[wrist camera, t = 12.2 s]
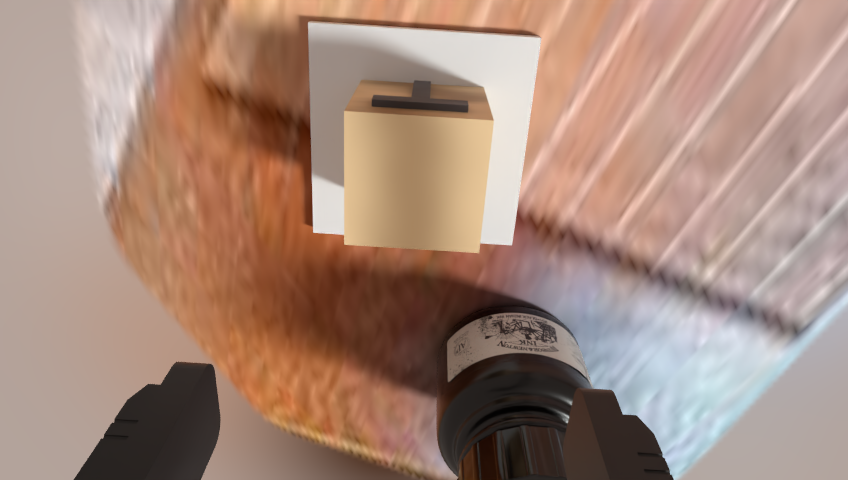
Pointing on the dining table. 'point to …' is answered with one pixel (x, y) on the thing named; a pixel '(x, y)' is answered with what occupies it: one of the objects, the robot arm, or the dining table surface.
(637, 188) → the dining table surface
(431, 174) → the lettered block
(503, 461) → the ink bottle
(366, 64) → the white mat
